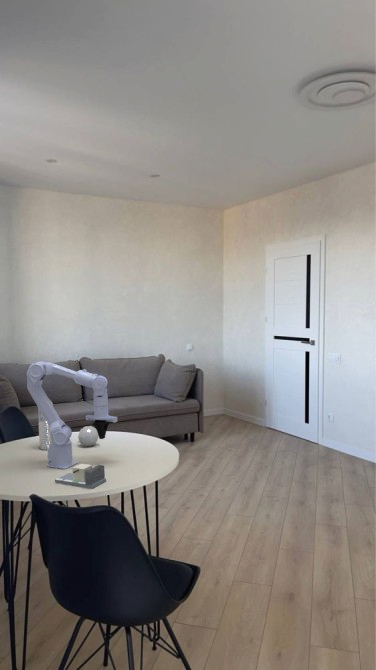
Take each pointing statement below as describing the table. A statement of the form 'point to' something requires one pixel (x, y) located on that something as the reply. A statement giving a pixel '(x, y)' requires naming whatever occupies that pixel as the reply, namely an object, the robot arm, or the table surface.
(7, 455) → the table surface
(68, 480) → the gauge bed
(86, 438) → the glossy grey ball
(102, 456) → the table surface
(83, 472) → the off-white block with tab
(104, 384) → the robot arm
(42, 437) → the water bottle
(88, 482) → the grey rectangular block
